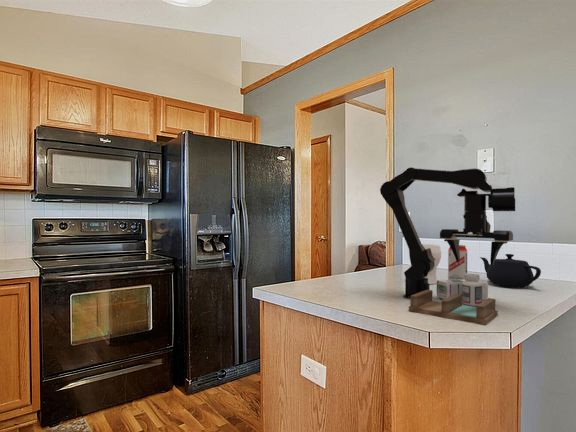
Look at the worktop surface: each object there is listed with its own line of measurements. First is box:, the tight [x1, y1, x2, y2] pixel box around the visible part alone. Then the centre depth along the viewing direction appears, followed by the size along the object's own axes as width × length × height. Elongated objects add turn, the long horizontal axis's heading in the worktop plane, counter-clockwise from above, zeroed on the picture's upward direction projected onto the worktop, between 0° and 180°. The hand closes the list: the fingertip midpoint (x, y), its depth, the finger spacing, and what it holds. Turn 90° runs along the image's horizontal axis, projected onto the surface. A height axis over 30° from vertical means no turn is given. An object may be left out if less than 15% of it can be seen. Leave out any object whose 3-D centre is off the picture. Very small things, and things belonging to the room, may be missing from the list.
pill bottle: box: [462, 273, 483, 307], centre depth 107 cm, size 5×5×9 cm
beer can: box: [447, 244, 468, 280], centre depth 128 cm, size 6×6×16 cm
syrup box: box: [436, 279, 489, 301], centre depth 114 cm, size 6×6×14 cm
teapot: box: [479, 253, 542, 289], centre depth 140 cm, size 25×16×12 cm, turn 21°
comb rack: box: [408, 289, 498, 326], centre depth 96 cm, size 19×12×4 cm, turn 48°
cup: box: [421, 243, 442, 285], centre depth 144 cm, size 11×11×15 cm
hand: (474, 263), depth 107 cm, fingers open, 9 cm apart
